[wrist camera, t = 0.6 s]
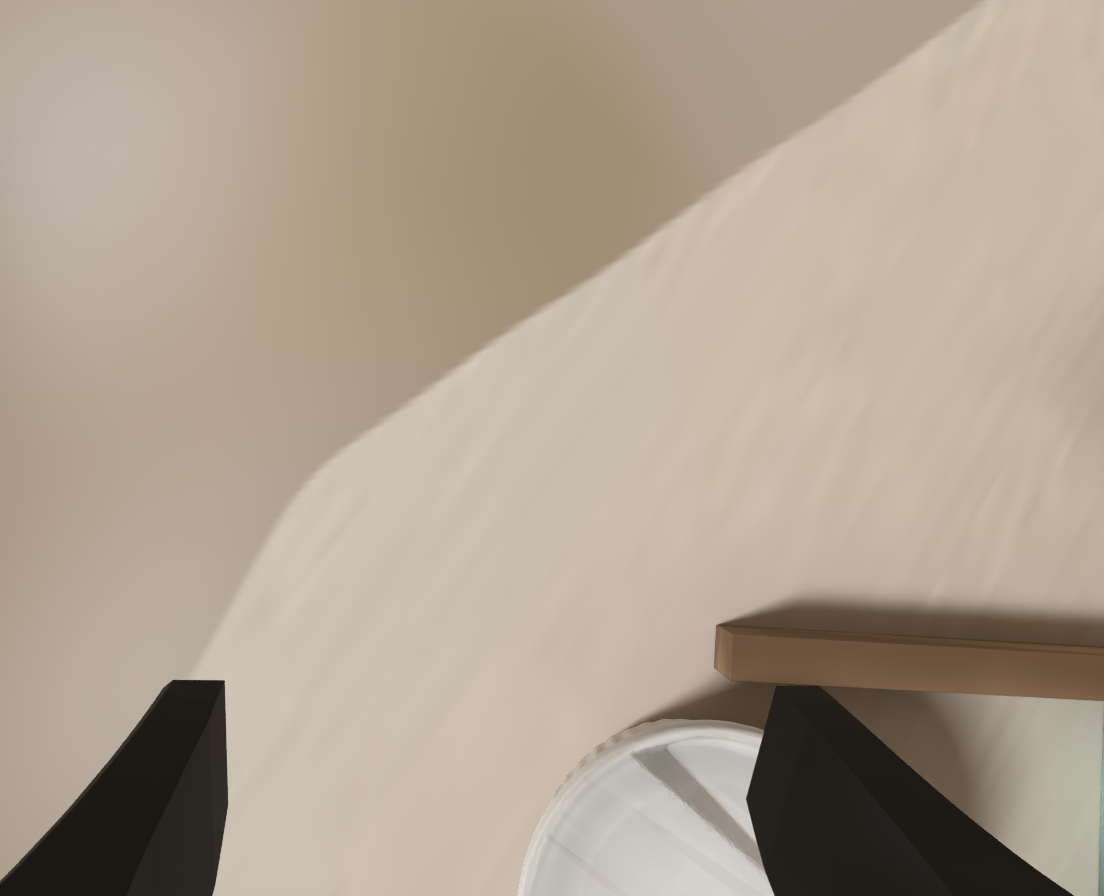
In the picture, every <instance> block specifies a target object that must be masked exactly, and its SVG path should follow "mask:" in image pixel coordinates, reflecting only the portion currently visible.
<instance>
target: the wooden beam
mask: <svg viewBox="0 0 1104 896" xmlns="http://www.w3.org/2000/svg"><path fill="white" fill-rule="evenodd" d="M714 668H715V669H716V670H718V671H719V672H720V673H721V674H723V675H724V676H725V677H727V678H728V679H729V680H730V681H746V682H764V683H783V684H801V685H819V686H837V687H856V688H874V689H892V690H911V691H929V692H947V693H966V694H984V695H1002V696H1021V697H1039V698H1057V699H1075V700H1094V701H1104V647H1089V646H1072V645H1054V644H1037V643H1019V642H1002V641H985V640H967V639H950V638H932V637H915V636H898V635H880V634H863V633H845V632H828V631H810V630H793V629H776V628H758V627H741V626H723V625H716V641H715V660H714ZM1099 896H1104V733H1103V765H1102V798H1101V831H1100V864H1099Z"/></svg>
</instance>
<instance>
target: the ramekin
mask: <svg viewBox="0 0 1104 896" xmlns="http://www.w3.org/2000/svg"><path fill="white" fill-rule="evenodd" d="M763 734H764V730H762V729H759V728H755V727H752V726H748V725H744V724H740V723H735V722H729V721H720V720H688V719H660V720H658V721H655V722H644V723H642V724H640V725H638V726H636V727H633V728H628V729H626V730H624V731H622V732H621V733H619V734H617V735H615V736H612V737H610V738H609V739H608V740H606V741H605V742H604V743H602V744H600V745H598V746H596V747H595V748H594V749H593V750H592V751H591V752H590V753H589V754H588V755H587V756H585V757H584V758H582V759H581V760H580V761H579V762H578V764H577V766H576V767H575V768H574V769H573V770H572V771H571V772H570V773H569V774H568V775H567V777H566V778H565V780H564V782H563V784H562V785H561V786H560V787H559V788H558V789H557V790H556V792H555V794H554V797H553V800H552V802H551V803H550V805H549V806H548V808H547V810H546V811H545V813H544V815H543V816H542V818H541V820H540V822H539V824H538V826H537V828H536V830H535V832H534V835H533V838H532V840H531V843H530V845H529V848H528V851H527V854H526V857H525V861H524V864H523V868H522V873H521V878H520V883H519V890H518V896H774V893H773V891H772V888H771V886H770V883H769V881H768V878H767V875H766V873H765V870H764V866H763V863H762V859H761V856H760V852H759V849H758V845H757V841H756V838H755V834H754V830H753V826H752V822H751V818H750V814H749V809H748V805H747V801H746V796H747V793H748V789H749V785H750V782H751V778H752V774H753V770H754V767H755V763H756V759H757V756H758V752H759V748H760V745H761V741H762V737H763Z"/></svg>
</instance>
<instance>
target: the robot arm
mask: <svg viewBox="0 0 1104 896" xmlns="http://www.w3.org/2000/svg"><path fill="white" fill-rule="evenodd" d="M746 801H747V805H748V809H749V814H750V818H751V822H752V826H753V830H754V834H755V838H756V841H757V845H758V849H759V852H760V856H761V859H762V863H763V866H764V870H765V873H766V875H767V878H768V881H769V883H770V886H771V888H772V891H773V893H774V896H1073V895H1072V894H1071V893H1069V892H1068V891H1066V890H1065V889H1063V888H1062V887H1061V886H1059V885H1058V884H1056V883H1055V882H1053V881H1052V880H1050V879H1049V878H1048V877H1046V876H1045V875H1043V874H1042V873H1040V872H1039V871H1038V870H1036V869H1035V868H1034V867H1032V866H1031V865H1029V864H1028V863H1027V862H1025V861H1024V860H1023V859H1021V858H1020V857H1019V856H1017V855H1016V854H1015V853H1013V852H1012V851H1011V850H1010V849H1008V848H1007V847H1006V846H1004V845H1003V844H1002V843H1001V842H999V841H998V840H997V839H996V838H994V837H993V836H992V835H991V834H989V833H988V832H987V831H986V830H984V829H983V828H982V827H980V826H979V825H978V824H977V823H975V822H974V821H973V820H972V819H970V818H969V817H968V816H967V815H966V814H964V813H963V812H962V811H961V810H960V809H958V808H957V807H956V806H955V805H954V804H952V803H951V802H950V801H949V800H948V799H946V798H945V797H944V796H943V795H942V794H941V793H939V792H938V791H937V790H936V789H935V788H934V787H932V786H931V785H930V784H929V783H928V782H927V781H925V780H924V779H923V778H922V777H921V776H920V775H919V774H917V773H916V772H915V771H914V770H913V769H912V768H911V767H910V766H908V765H907V764H906V763H905V762H904V761H903V760H902V759H901V758H899V757H898V756H897V755H896V754H895V753H894V752H893V751H892V750H891V749H889V748H888V747H887V746H886V745H885V744H884V743H883V742H882V741H881V740H879V739H878V738H877V737H876V736H875V735H874V734H873V733H872V732H871V731H870V730H868V729H867V728H866V727H865V726H864V725H863V724H862V723H861V722H860V721H858V720H857V719H856V718H855V717H854V716H853V715H852V714H851V713H850V712H848V711H847V710H846V709H845V708H844V707H843V706H842V705H841V704H839V703H838V702H837V701H836V700H835V699H834V698H833V697H831V696H830V695H829V694H828V693H827V692H825V691H824V690H823V689H822V688H821V687H819V686H776V689H775V693H774V697H773V700H772V704H771V708H770V711H769V715H768V719H767V722H766V726H765V730H764V734H763V737H762V741H761V745H760V748H759V752H758V756H757V759H756V763H755V767H754V770H753V774H752V778H751V782H750V785H749V789H748V793H747V796H746ZM227 808H228V784H227V749H226V713H225V681H224V680H172V681H171V682H170V683H169V684H167V685H166V686H165V687H164V688H163V689H162V691H161V692H160V694H159V695H158V696H157V698H156V700H155V701H154V702H153V704H152V705H151V706H150V708H149V709H148V711H147V712H146V713H145V715H144V716H143V717H142V719H141V720H140V722H139V723H138V724H137V726H136V727H135V728H134V730H133V731H132V732H131V733H130V735H129V736H128V737H127V739H126V740H125V741H124V742H123V744H122V745H121V746H120V748H119V749H118V750H117V751H116V753H115V754H114V755H113V756H112V758H111V759H110V760H109V762H108V763H107V764H106V765H105V766H104V768H103V769H102V770H101V771H100V772H99V773H98V775H97V776H96V777H95V778H94V779H93V780H92V782H91V783H90V784H89V785H88V786H87V788H86V789H85V790H84V791H83V792H82V794H81V795H80V796H79V797H78V798H77V799H76V801H75V802H74V803H73V804H72V805H71V806H70V808H69V809H68V810H67V811H66V812H65V813H64V815H62V817H61V818H60V819H59V820H58V821H57V822H56V823H55V824H54V825H53V826H52V827H51V828H50V830H49V831H48V832H47V833H46V834H45V835H44V836H43V837H42V838H41V839H40V840H39V841H38V842H37V843H36V844H35V846H34V847H33V848H32V849H31V850H30V851H29V852H28V853H27V854H26V855H25V856H24V857H23V858H22V859H21V861H20V862H19V863H18V864H17V865H16V866H15V867H14V868H13V869H12V870H11V871H10V872H9V873H8V874H7V875H6V876H5V877H4V878H3V879H2V880H1V881H0V896H212V894H213V891H214V887H215V883H216V877H217V871H218V865H219V859H220V853H221V847H222V840H223V834H224V827H225V821H226V815H227Z"/></svg>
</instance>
